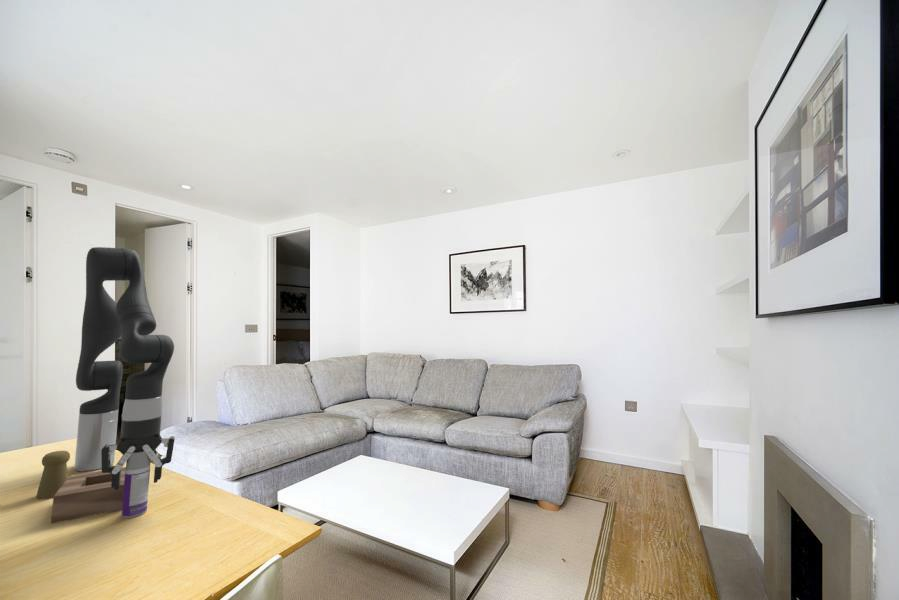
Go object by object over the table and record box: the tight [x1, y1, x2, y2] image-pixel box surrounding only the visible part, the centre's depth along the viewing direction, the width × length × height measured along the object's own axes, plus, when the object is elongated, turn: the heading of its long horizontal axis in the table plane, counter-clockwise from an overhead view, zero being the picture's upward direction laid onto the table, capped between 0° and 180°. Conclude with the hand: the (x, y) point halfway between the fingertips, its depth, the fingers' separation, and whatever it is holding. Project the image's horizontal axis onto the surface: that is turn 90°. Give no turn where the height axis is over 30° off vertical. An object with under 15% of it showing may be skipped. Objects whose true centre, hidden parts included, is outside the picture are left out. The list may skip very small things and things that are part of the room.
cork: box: [35, 450, 71, 500], centre depth 98 cm, size 6×6×11 cm
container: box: [121, 451, 151, 519], centre depth 90 cm, size 5×5×15 cm
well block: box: [50, 466, 126, 524], centre depth 94 cm, size 14×14×6 cm
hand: (136, 484), depth 90 cm, fingers open, 6 cm apart
